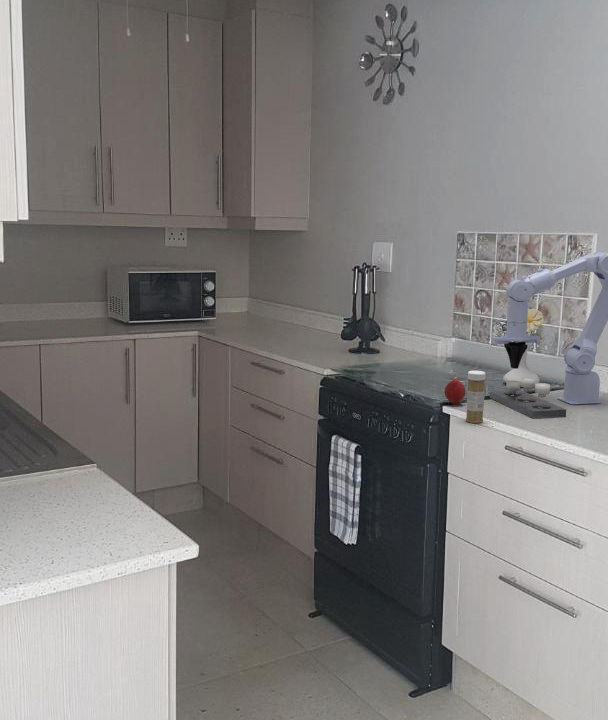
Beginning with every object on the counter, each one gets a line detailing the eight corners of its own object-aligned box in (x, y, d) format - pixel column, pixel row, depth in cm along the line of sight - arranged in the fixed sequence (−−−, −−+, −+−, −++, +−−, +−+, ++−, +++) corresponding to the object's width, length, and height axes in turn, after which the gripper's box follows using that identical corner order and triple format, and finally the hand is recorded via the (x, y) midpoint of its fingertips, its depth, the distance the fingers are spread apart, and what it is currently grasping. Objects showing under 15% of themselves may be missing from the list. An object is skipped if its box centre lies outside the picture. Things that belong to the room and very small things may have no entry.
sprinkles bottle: (477, 418, 223) (479, 369, 221) (486, 423, 219) (489, 372, 217) (462, 420, 222) (464, 370, 219) (471, 424, 218) (473, 373, 215)
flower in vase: (495, 383, 269) (499, 306, 264) (519, 379, 275) (523, 304, 271) (526, 391, 258) (531, 310, 254) (551, 386, 264) (556, 308, 260)
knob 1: (515, 391, 247) (516, 380, 246) (522, 394, 243) (523, 383, 243) (503, 392, 246) (504, 380, 245) (510, 395, 242) (510, 383, 242)
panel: (520, 396, 251) (520, 389, 250) (565, 416, 227) (566, 409, 226) (489, 397, 248) (490, 391, 248) (532, 418, 224) (533, 411, 224)
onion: (458, 407, 235) (460, 380, 234) (440, 404, 239) (441, 377, 237) (468, 404, 240) (469, 377, 238) (450, 401, 243) (451, 374, 242)
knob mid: (529, 388, 239) (530, 377, 238) (537, 391, 235) (537, 379, 235) (517, 389, 238) (518, 377, 237) (524, 392, 234) (525, 380, 234)
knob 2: (544, 394, 231) (545, 382, 231) (552, 397, 228) (553, 385, 227) (531, 395, 230) (532, 383, 230) (539, 398, 227) (539, 386, 226)
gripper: (532, 319, 246) (529, 364, 249) (487, 320, 243) (485, 366, 245) (545, 322, 240) (542, 368, 242) (499, 323, 236) (496, 370, 239)
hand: (514, 367), depth 243 cm, fingers closed
